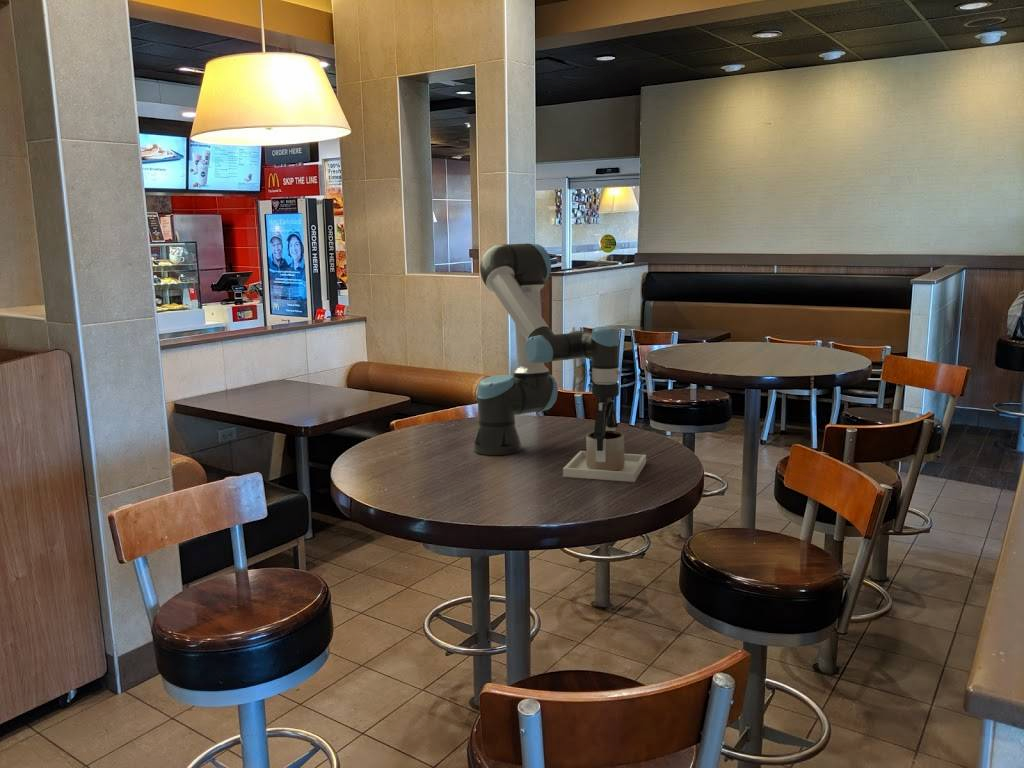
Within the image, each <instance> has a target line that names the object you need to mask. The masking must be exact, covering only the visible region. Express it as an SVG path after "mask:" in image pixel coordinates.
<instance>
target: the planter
mask: <svg viewBox="0 0 1024 768" xmlns="http://www.w3.org/2000/svg"><path fill="white" fill-rule="evenodd" d="M592 436H594V431H591V432H588V433H587V434H586V437H585V438H586V439H585V442H586V443H585V444H586V445H585V447H586V449H585V451H586V464H587V467H588V468H589V469H592V470H607V471H617V470H620V469H622V468H623V467H624V464H625V460H624V454H625V434H624V433H622V432H620V431H616V430H615V431H606V432H605V438H604V439H606V462H597V461H596V440H595V439H593V438H592Z"/></svg>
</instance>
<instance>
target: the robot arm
mask: <svg viewBox="0 0 1024 768" xmlns="http://www.w3.org/2000/svg"><path fill="white" fill-rule="evenodd" d="M551 271H552V263H551V258H550V255H549V253H548V251H547V250H546V249H545V247H544V246H542V245H540V244H538V243H537V244H536V243H529V242H526V243H501V244H495V245H493V246H491V247H490V248H488V249H487V250H486V252H485V253H484V254H483V256H482V258H481V261H480V265H479V272H480V276H481V279H482V283H483V284H484V285H485V287H486V288H487V289H488V290H489V291H491V292H493V293H494V294H495V295H496V297H497V298H498V300H499V301H500V303H501V305H502V306H503V308H504V309H505V311H506V312H507V314H508V315H509V317H510V318H511V320H512V321H513V322H514V327H515V328H514V329H515V340H516V341H515V343H516V356H517V357H516V358H517V359H516V360H517V361H516V362H517V367H516V368H515V370H513V375H511V374H500V375H498V374H496V375H491V376H488V377H484V378H483V379H481V380H480V381H479V382H478V384H477V394H476V396H477V417H478V428H477V432H476V435H475V438H474V441H473V451H474V452H475V453H476V454H480V455H484V456H507V455H511V454H516V453H518V452H520V451H521V450H522V442H521V439H520V436H519V433H518V430H517V427H516V416H518V415H524V414H531V413H541V412H542V411H543V412H544V411H548V410H550V409H551V408H552V407H553V406H554V404H555V403H556V401H557V397H558V394H559V393H558V391H559V388H558V383H557V381H556V378H555V377H554V376H553V375H552V374H550V369H549V368H548V367H546V365H545V363H550V362H557V361H568V360H577V359H587V360H591V380H592V382H593V383H592V384H591V386H592V387H591V394H592V396H593V397H594V398H599V399H598V402H597V403H596V404H595V409H596V410H595V419H594V429H593V432H594V436H592V438H593V439H595V440H596V461H597V462H606V439H604V438H605V432H606V431H616V428H618V427H619V423H618V420H617V413H616V404H615V398H616V397H618V396H619V395H620V383H619V379H620V375H621V374H622V372H621V370H619V369H620V343H621V342H620V336H619V329H618V328H616V327H614V326H595V327H594V328H592V330H591V332H588V331H583V330H574V331H570V332H568V333H558V334H556V333H554V332H553V330H552V329H551V328H550V326H549V325H548V324H547V323H546V321H545V320H544V318H543V317H542V301H541V291H542V289H543V288H544V287H545V280H547V279H548V278H549V276H550V273H551Z"/></svg>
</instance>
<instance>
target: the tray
mask: <svg viewBox="0 0 1024 768" xmlns="http://www.w3.org/2000/svg"><path fill="white" fill-rule="evenodd" d="M624 460H625V464H624V467H623V468H622V469H620V470H617V471H607V470H592V469H589V468H588V467H587V464H586V450H579V451H578V453H576V455H574V456H573V458H571V459H570V461H569V462H567V463H566V465H564V467H563V468H562V477H563V478H573V479H577V478H578V479H589V480H604V481H614V482H615V481H616V482H617V481H618V482H627V483H628V482H631V483H635V482H636V480H637V479H638V477H639V476H640V473H641V472H642V470H643V469H644V467H645V466H646V464H647V454H637V453H624Z"/></svg>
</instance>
